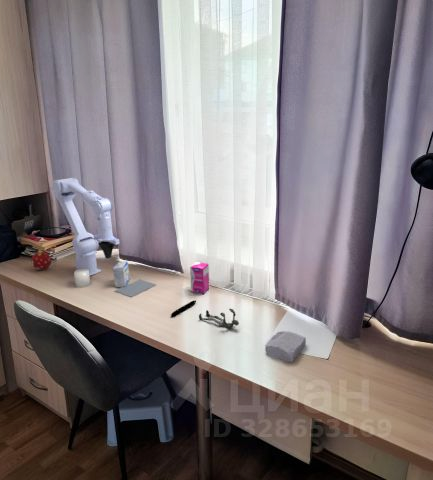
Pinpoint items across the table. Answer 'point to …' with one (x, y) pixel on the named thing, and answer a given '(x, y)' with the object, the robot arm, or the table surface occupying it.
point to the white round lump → (82, 278)
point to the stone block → (285, 346)
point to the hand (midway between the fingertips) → (108, 257)
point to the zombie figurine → (222, 321)
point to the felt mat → (135, 288)
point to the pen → (183, 308)
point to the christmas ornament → (41, 260)
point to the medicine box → (121, 274)
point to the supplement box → (199, 277)
